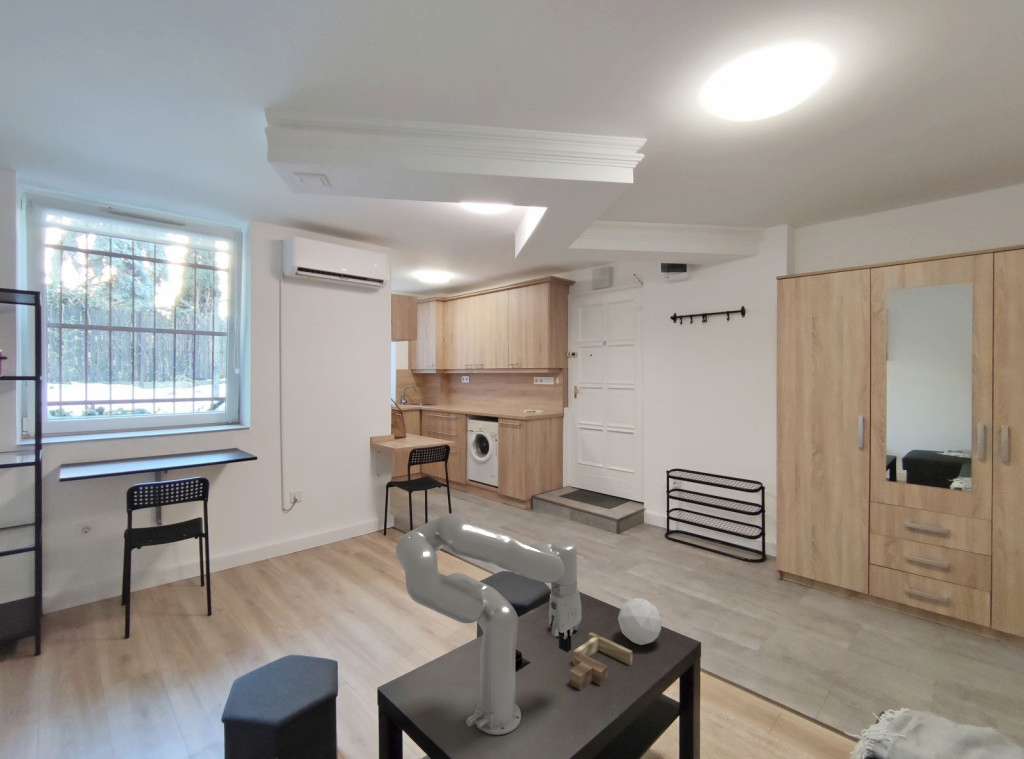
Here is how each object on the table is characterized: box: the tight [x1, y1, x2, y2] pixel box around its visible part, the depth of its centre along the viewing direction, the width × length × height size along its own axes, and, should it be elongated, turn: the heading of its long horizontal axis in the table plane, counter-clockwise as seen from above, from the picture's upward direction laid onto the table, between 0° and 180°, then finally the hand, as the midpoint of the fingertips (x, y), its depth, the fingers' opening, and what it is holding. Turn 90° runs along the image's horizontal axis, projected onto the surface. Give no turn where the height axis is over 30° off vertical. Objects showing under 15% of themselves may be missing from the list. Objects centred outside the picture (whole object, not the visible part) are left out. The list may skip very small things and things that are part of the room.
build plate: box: [515, 648, 531, 674], centre depth 150 cm, size 12×7×5 cm, turn 137°
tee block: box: [569, 653, 609, 691], centre depth 143 cm, size 10×10×4 cm
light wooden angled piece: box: [572, 631, 633, 666], centre depth 152 cm, size 14×16×4 cm
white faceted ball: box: [617, 597, 663, 646], centre depth 164 cm, size 14×15×15 cm
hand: (565, 649), depth 135 cm, fingers closed
